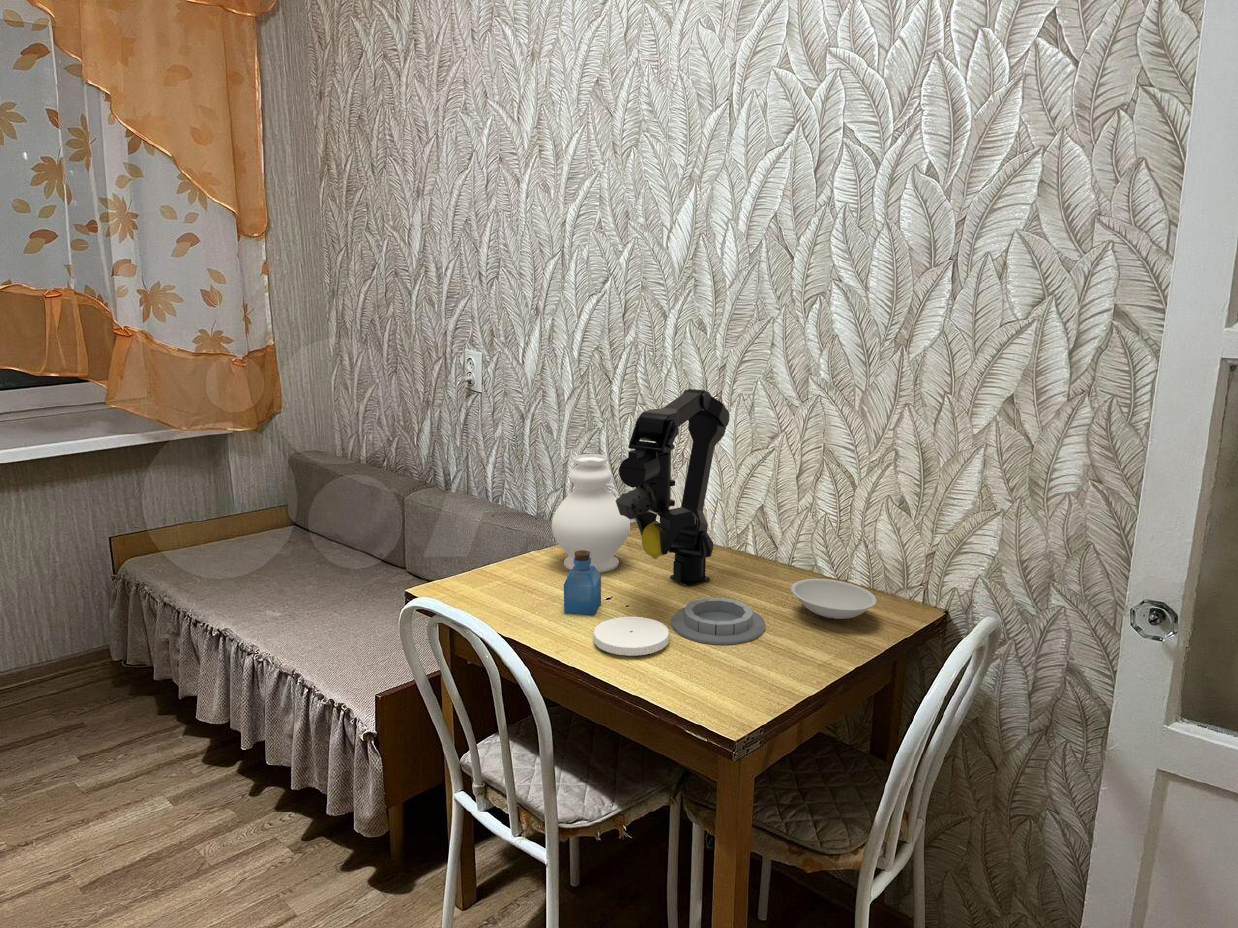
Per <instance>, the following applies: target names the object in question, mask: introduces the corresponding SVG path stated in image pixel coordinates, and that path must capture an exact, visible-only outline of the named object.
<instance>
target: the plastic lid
mask: <svg viewBox="0 0 1238 928" xmlns="http://www.w3.org/2000/svg"><path fill="white" fill-rule="evenodd" d="M669 641H670V630H669V628H668V626H666V625H665V624H664V623H663V622H661V621H658V620H655V619H652V618H648V617H647V618H646V617H640V616H622V617H621V616H620V617H616V618H614V617H613V618H610V619H607V620H604V621H602V622H600V623H599V624H597V625H596V626H595V628H594V629H593V643H594V645H595V646H596V647H597V648H599V649H600V650H602V651H604V652H607V653H610V654H615V655H619V656H629V657H631V656H632V657H633V656H644V655H648V654H651V655H652V654H654V653H657V652H660V651H661V650H663V649H664V648H666V647H667V646H668V644H669Z"/></svg>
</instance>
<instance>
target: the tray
mask: <svg viewBox="0 0 1238 928" xmlns="http://www.w3.org/2000/svg"><path fill="white" fill-rule="evenodd" d="M671 628H672V629H673V631H674V632H675V633H676V634H678V635H679V636H681V637H682V638H684V639H687V640H689V641H693V642H696V643H700V644H705V645H712V646H713V645H714V646H730V645H732V646H733V645H740V644H744V643H748V642H751V640H752V641H754V640H756V639H759V637H761V636H762V635H763V634H764V632H765V630H766V623H765V619H764V618H763V617H762V616H761V614H759V613H757V612H756V611H754V610H752V608H751V606H749V605H748V604H746V603H744V602H742V601H739V600H736V599H730V598H726V597H704V598H700V599H696V600H692V601H690V602H689V603H687V605H686V606H684V607H683V608H681V609H680V610H678V611H676V612H675V613H674V614H673V615H672V618H671ZM762 633H763V634H762Z"/></svg>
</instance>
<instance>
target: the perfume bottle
mask: <svg viewBox="0 0 1238 928" xmlns="http://www.w3.org/2000/svg"><path fill="white" fill-rule="evenodd" d="M574 554H575V558H574V564H575V566H574V567H573V568H572V570H570V571H569V573H568V575H567V578H566V579H565V581H564V584H563V614H565V615H577V616H587V617H588V616H589V617H595V616H596V614H597V613H598V610H599V609H600V607H601V606H602V574H601V573H599V572H598V571H597V569H596V568H595V566H590V564H591V558H590V557H589V556H590V552H589V551H585V550H579V551H576V552H575V553H574Z"/></svg>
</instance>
